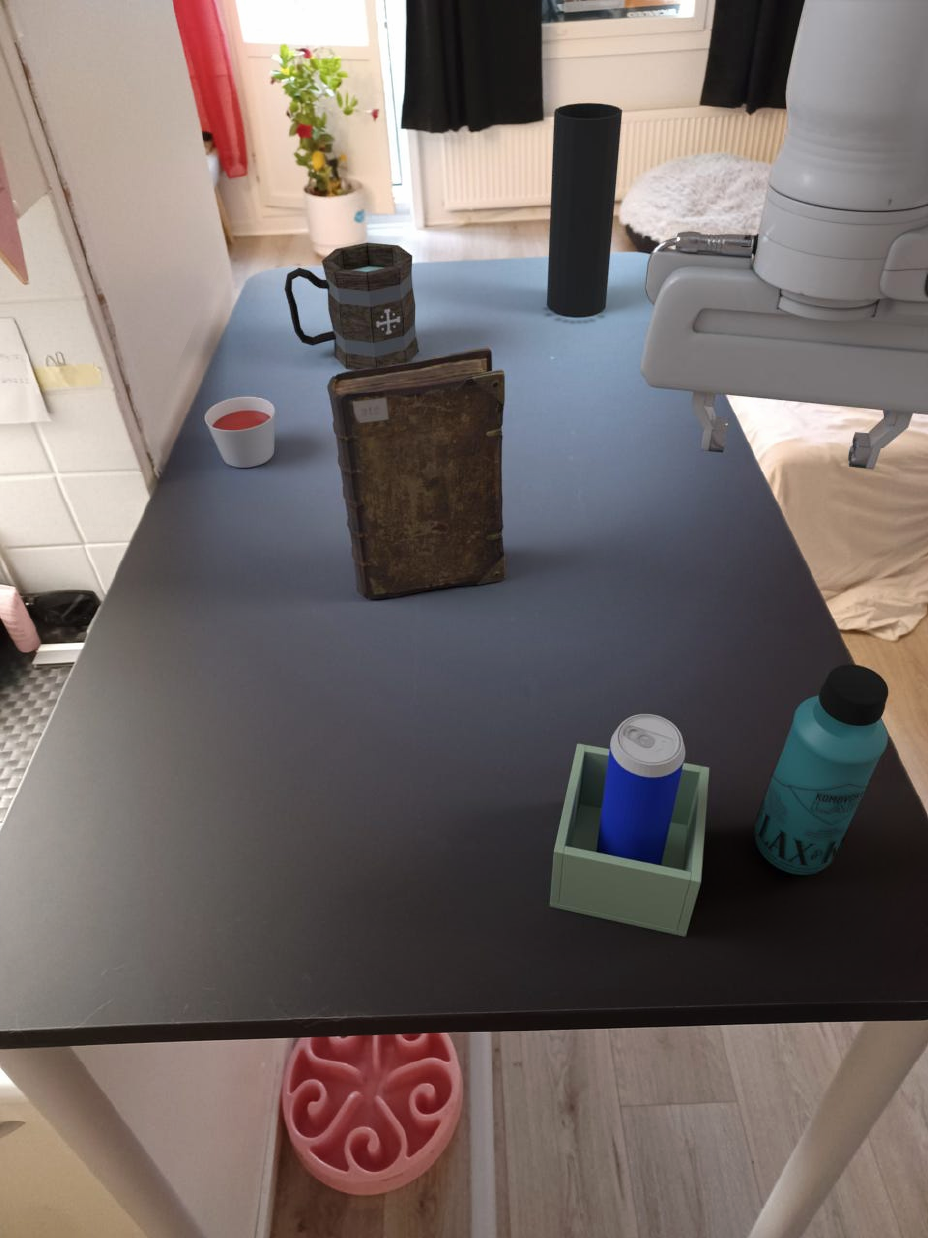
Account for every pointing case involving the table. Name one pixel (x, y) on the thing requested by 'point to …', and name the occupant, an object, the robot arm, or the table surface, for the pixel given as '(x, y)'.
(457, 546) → the book
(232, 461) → the white cup
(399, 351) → the mug
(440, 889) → the table surface
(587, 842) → the bin
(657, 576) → the table surface
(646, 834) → the beverage can
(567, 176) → the vase
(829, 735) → the beverage bottle
